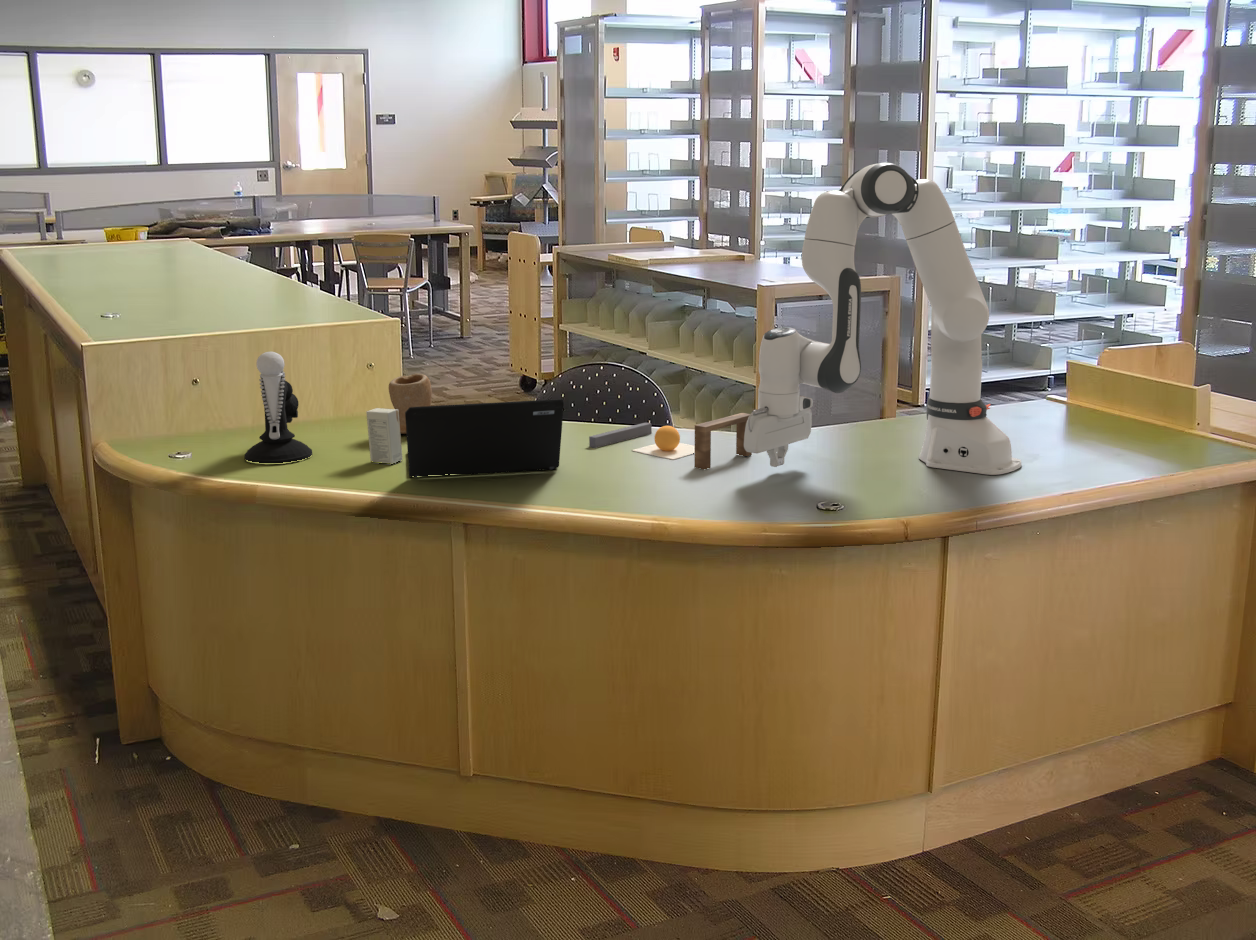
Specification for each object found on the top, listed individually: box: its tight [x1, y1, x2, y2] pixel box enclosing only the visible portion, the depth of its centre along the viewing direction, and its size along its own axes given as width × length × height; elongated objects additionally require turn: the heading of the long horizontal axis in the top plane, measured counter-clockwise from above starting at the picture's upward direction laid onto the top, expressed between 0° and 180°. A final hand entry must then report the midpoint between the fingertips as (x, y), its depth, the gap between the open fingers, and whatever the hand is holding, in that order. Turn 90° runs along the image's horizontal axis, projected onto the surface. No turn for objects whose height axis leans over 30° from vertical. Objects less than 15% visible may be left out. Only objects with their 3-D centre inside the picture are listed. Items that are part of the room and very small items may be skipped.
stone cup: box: [388, 373, 433, 435], centre depth 315 cm, size 15×12×15 cm
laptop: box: [405, 398, 565, 478], centre depth 280 cm, size 33×38×19 cm
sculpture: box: [244, 351, 313, 463], centre depth 295 cm, size 15×24×25 cm, turn 6°
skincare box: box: [365, 407, 403, 465], centre depth 288 cm, size 6×4×12 cm
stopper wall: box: [588, 421, 653, 449], centre depth 308 cm, size 2×20×2 cm, turn 137°
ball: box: [654, 425, 681, 451], centre depth 296 cm, size 6×6×6 cm
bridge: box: [694, 412, 753, 470], centre depth 286 cm, size 3×17×10 cm, turn 137°
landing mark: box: [631, 442, 695, 461], centre depth 298 cm, size 13×13×1 cm
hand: (777, 465), depth 277 cm, fingers closed
